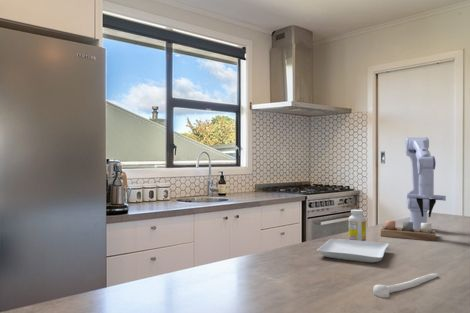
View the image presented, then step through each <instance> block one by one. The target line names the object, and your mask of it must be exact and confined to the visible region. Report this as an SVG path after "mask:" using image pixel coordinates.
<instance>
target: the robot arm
mask: <svg viewBox="0 0 470 313" xmlns="http://www.w3.org/2000/svg"><path fill="white" fill-rule="evenodd" d="M404 144H405V154H406V157H409V158H410V164H411V165H410V166H411V178H412V180H411V181H412V183H411V184H412V190H410V191H409V192H407V195H406V208H407V209H408V210H409V222H413V229H421V223H428V218H431V215H432V212H433V209H434V207H435V205H436V202H437V201H443V202H446V199H447V198H446V197H447V196H446V195H440V194H439V195H438V194H434V193H435V190H434V189H435V188H434V187H435V186H434V185H435V183H434V180H435V179H434V176H435V174H434V173H435V171H434V170H436V161H437V160H436V158H435V155H431V152H430V150H429V148H430V140H429V138H428V137H427V136H426V137H406V138H405V143H404Z"/></svg>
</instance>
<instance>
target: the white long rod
mask: <svg viewBox="0 0 470 313" xmlns="http://www.w3.org/2000/svg"><path fill="white" fill-rule="evenodd" d="M438 277H439V273H428V274H425V275H423V276H419V277H416V278H413V279H410V280H409V281H405V282H401V283H396V284H391V285H385V284H375V285H373V287H372V288H373V289H372V293H373V295H374V296H376V297H379V298H382V299H383V298H389V297H390V294H392V293H396V292H400V291H403V290H407V289H411V288H414V287H416V286H419V285H421V284H424V283H426V282H428V281H431V280H434V279H435V278H438Z"/></svg>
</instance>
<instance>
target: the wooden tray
mask: <svg viewBox="0 0 470 313" xmlns="http://www.w3.org/2000/svg"><path fill="white" fill-rule="evenodd" d="M380 237H387V238H398V239H399V238H400V239H409V240H417V241H418V240H420V241H430V242H431V241H432V242H436V240H437V234H436V230H435V229H431V233H425V232H421V229H413V231H404V230H403V227H399V226H395V230H388V229H386V225H385V226H384V225H383V226H382V228H381V229H380Z"/></svg>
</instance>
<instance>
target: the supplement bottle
mask: <svg viewBox="0 0 470 313" xmlns="http://www.w3.org/2000/svg"><path fill="white" fill-rule="evenodd" d="M350 214H351V215H350V216H349V217H348V240H357V241H367V229H366V228H367V227H366V226H367V219H366V216H364V210H363V209H351V210H350Z"/></svg>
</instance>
